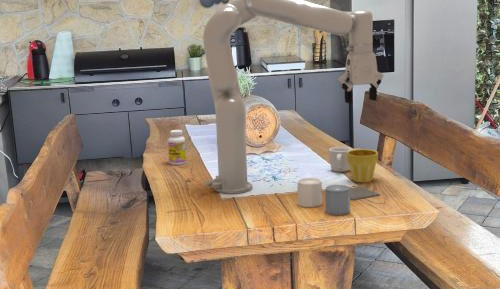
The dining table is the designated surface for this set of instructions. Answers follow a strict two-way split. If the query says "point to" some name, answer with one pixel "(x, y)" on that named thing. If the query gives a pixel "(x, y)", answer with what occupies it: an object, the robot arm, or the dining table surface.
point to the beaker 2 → (337, 199)
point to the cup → (339, 159)
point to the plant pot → (362, 164)
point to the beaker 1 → (309, 192)
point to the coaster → (361, 193)
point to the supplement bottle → (177, 148)
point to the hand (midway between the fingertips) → (360, 101)
